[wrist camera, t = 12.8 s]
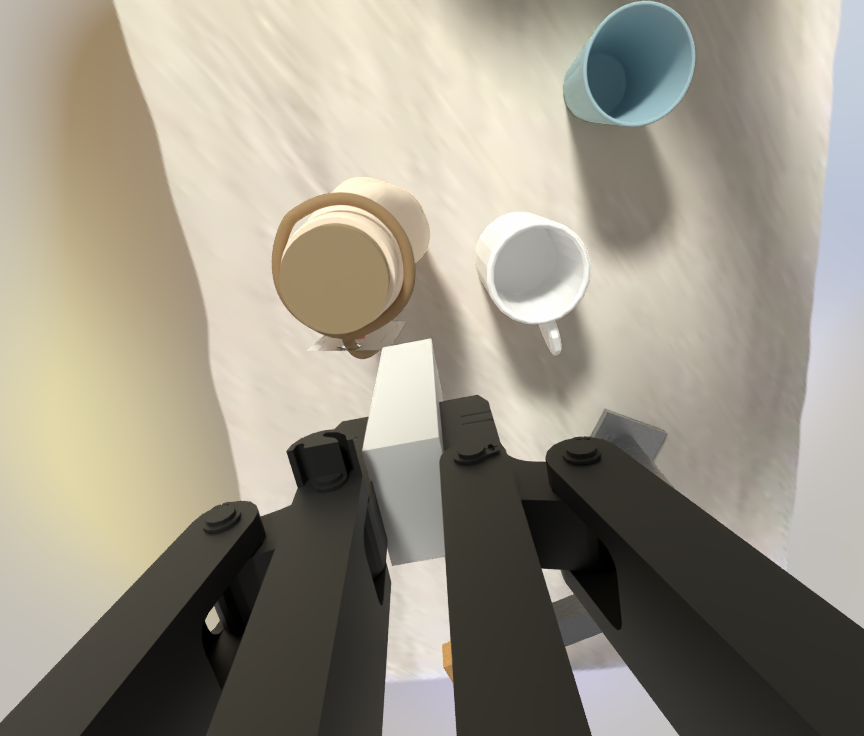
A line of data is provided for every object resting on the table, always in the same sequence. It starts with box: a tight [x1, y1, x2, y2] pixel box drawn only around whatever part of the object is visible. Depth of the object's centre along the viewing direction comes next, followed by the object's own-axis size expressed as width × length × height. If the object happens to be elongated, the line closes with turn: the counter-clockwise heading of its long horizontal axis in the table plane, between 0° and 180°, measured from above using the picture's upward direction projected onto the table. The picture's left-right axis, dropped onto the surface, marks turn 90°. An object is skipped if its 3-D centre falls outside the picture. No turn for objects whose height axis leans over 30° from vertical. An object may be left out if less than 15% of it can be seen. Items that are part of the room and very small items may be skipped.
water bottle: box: [272, 177, 430, 359], centre depth 39 cm, size 10×9×28 cm
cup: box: [563, 1, 695, 127], centre depth 44 cm, size 8×8×10 cm
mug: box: [475, 212, 591, 356], centre depth 49 cm, size 8×12×10 cm, turn 19°
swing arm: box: [442, 594, 602, 682], centre depth 43 cm, size 19×3×2 cm, turn 116°
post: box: [590, 409, 674, 488], centre depth 49 cm, size 7×7×22 cm
